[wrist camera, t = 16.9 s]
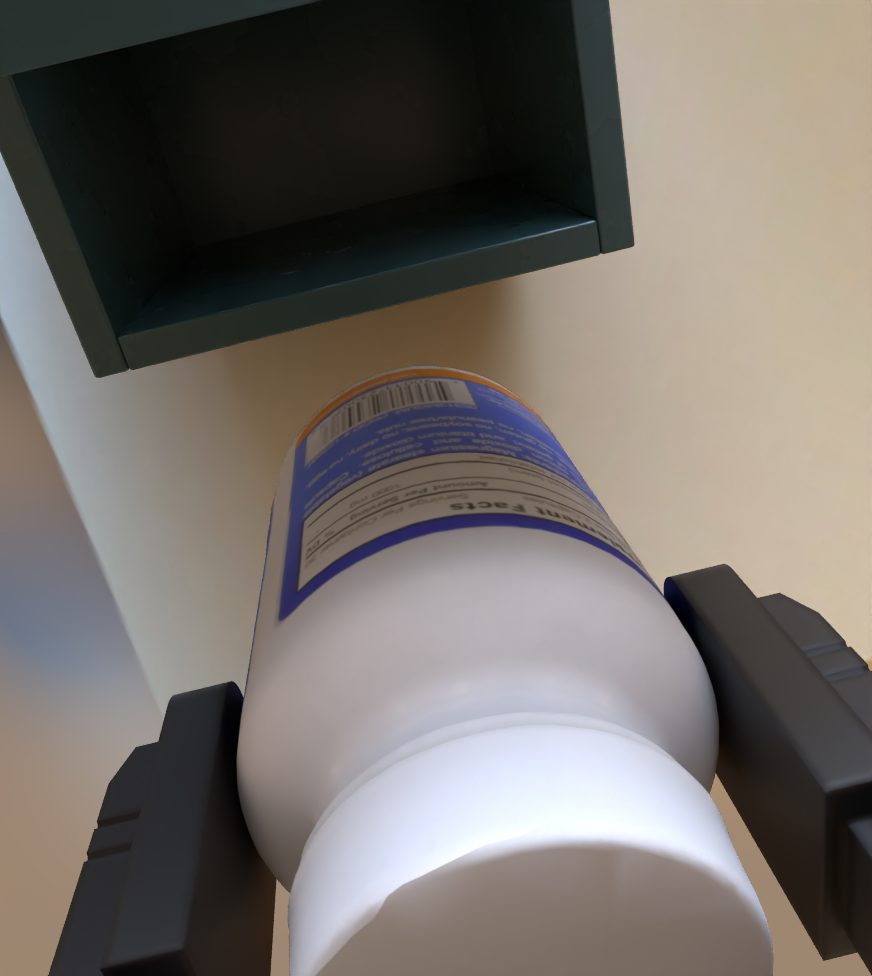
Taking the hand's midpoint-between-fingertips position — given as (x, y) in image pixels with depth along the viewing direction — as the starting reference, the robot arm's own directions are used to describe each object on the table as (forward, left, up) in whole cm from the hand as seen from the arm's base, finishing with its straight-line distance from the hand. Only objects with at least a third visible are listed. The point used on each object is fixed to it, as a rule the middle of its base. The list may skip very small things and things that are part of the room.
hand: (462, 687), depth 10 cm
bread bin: (0, +9, -24) cm, 25 cm away
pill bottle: (0, 0, -6) cm, 6 cm away
